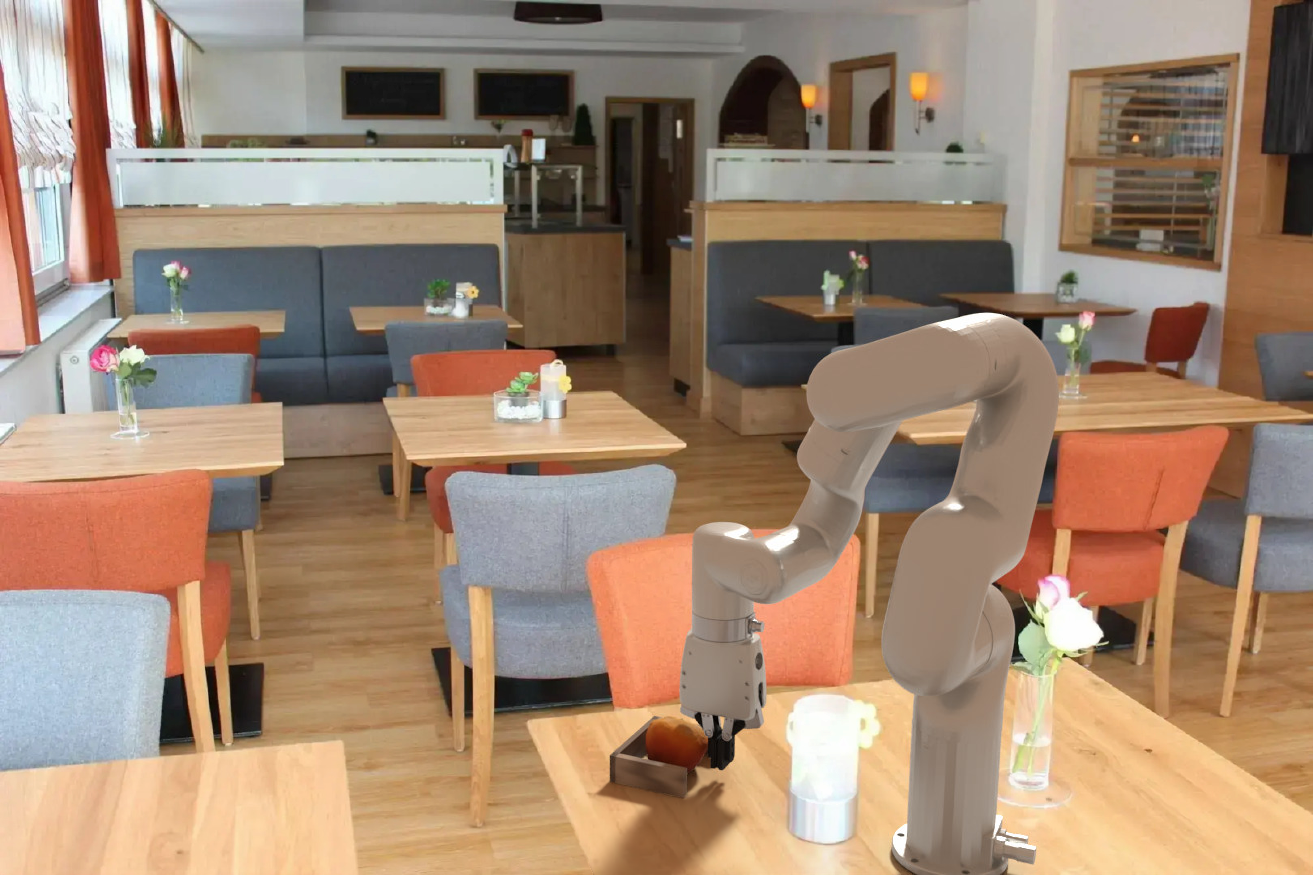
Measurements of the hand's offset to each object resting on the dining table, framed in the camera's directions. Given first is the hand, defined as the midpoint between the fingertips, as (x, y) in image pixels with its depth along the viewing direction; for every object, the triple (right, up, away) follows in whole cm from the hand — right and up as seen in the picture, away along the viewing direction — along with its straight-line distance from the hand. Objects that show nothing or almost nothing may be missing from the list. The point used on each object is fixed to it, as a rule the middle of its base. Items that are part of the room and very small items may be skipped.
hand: (721, 764), depth 160 cm
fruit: (-6, -2, +3) cm, 7 cm away
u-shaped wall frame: (-7, -1, +3) cm, 7 cm away
